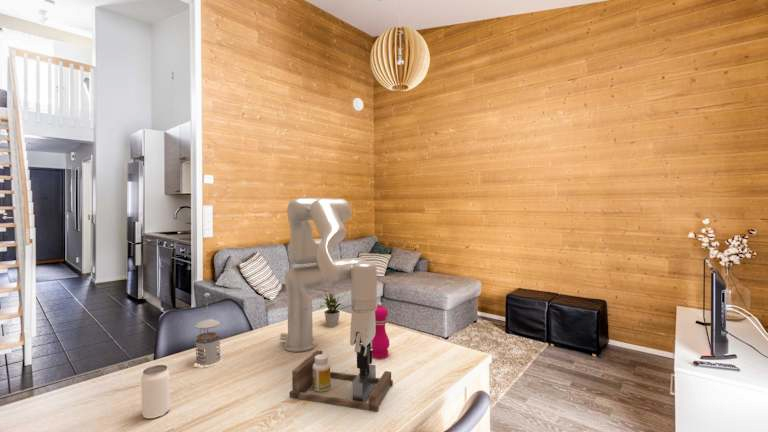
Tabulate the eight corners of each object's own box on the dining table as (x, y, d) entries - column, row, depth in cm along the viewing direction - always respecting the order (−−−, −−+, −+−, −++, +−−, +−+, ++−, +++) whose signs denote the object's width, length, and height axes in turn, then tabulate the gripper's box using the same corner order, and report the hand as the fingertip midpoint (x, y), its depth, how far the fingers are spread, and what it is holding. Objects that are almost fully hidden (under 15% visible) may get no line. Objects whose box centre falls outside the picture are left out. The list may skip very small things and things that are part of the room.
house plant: (307, 325, 173) (307, 290, 172) (330, 318, 184) (330, 285, 183) (328, 332, 164) (328, 295, 163) (350, 324, 174) (350, 289, 174)
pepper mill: (390, 351, 142) (390, 299, 141) (388, 359, 134) (388, 304, 134) (371, 351, 142) (371, 299, 142) (368, 359, 135) (368, 304, 134)
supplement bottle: (333, 385, 116) (333, 354, 116) (325, 393, 111) (325, 361, 111) (318, 382, 118) (317, 352, 118) (309, 390, 113) (309, 358, 112)
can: (150, 407, 104) (149, 364, 104) (174, 405, 105) (173, 363, 104) (137, 420, 98) (135, 375, 97) (162, 419, 98) (161, 374, 98)
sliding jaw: (352, 402, 105) (352, 353, 105) (366, 383, 117) (366, 338, 116) (362, 404, 104) (362, 355, 104) (375, 384, 116) (375, 339, 115)
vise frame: (289, 397, 109) (289, 370, 109) (314, 373, 124) (314, 350, 124) (377, 411, 101) (377, 382, 101) (392, 384, 116) (392, 359, 116)
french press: (197, 371, 126) (195, 297, 125) (188, 360, 135) (186, 291, 134) (227, 362, 133) (225, 293, 132) (216, 352, 142) (215, 287, 141)
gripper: (361, 296, 118) (362, 353, 119) (341, 310, 103) (341, 376, 103) (384, 298, 116) (384, 356, 117) (367, 313, 101) (367, 380, 101)
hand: (364, 365), depth 110 cm, fingers closed on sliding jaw, 3 cm apart
